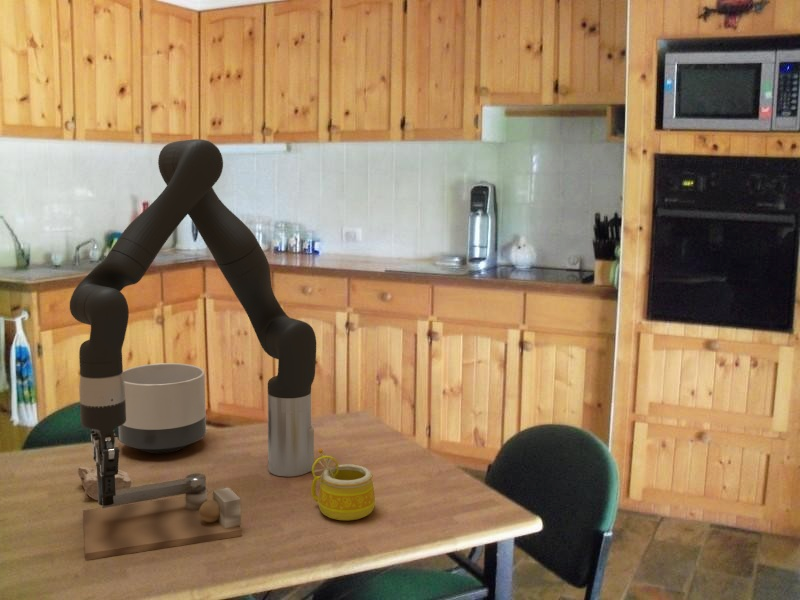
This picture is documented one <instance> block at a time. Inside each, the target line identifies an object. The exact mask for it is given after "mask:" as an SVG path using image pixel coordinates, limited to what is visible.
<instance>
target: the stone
mask: <svg viewBox="0 0 800 600" xmlns="http://www.w3.org/2000/svg"><path fill="white" fill-rule="evenodd" d="M77 470H78V473H77V474H78V476H79V478H80V481H81V483H82V487H83V490H84V491H85V493H86V494H87V496H89V497H90V498H92V499H93V500H95V501H98V487H97V468H95V467H89V466H79V467H78V469H77ZM131 485H132V479H131V478H130V476H129V474H128V472H127V471H122V470H121V469H118V474H117V475H115V489H116V490H120V489H126V488H131Z"/></svg>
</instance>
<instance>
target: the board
mask: <svg viewBox="0 0 800 600" xmlns="http://www.w3.org/2000/svg"><path fill="white" fill-rule="evenodd" d="M241 503H242V502H241V498H240V497H239V496H238V495H237V494H236V493H235V492H234V491H233V490H232V489H231V488H230V487H225V488H219V489H215V490H212V492H208V490H207V489H206V490H205V491H203V492H199V493H186V494H184V496H180V497H174V498H163V499H155V500H148V501H141V502H135V503H130V504H124V505H118V506H113V507H107V508H102V507H98V508H90V509H83V510H82V517H83V518H82V519H83V520H82V521H83V537H84V538H83V539H84V558H85V561H90V560H96V559H103V558H109V557H115V556H122V555H129V554H135V553H141V552H147V551H154V550H160V549H168V548H174V547H179V546H184V545H185V546H186V545H193V544H199V543H206V542H212V541H218V540H225V539H230V538H238V537H243V529H242V527H241V525H242V515H241V514H242V511H241V510H242V509H241V507H242V506H241Z"/></svg>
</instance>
